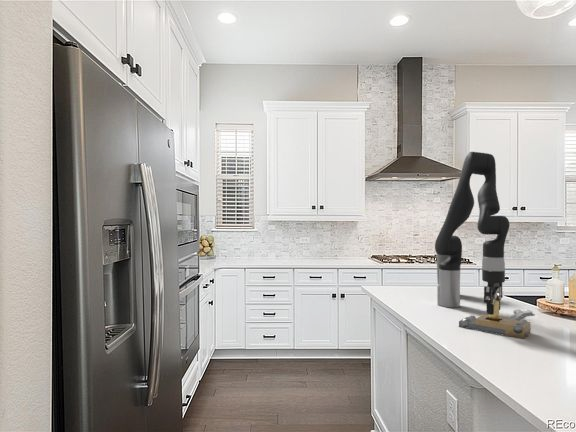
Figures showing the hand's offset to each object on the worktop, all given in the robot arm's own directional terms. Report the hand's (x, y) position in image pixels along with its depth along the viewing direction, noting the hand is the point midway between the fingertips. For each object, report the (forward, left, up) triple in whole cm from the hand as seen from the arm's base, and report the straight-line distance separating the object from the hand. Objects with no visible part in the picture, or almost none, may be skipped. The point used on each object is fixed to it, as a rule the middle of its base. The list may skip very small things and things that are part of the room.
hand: (493, 312), depth 142 cm
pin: (0, 0, -7) cm, 7 cm away
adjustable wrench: (+1, +26, -7) cm, 27 cm away
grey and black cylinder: (-37, +53, -7) cm, 65 cm away
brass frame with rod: (0, 0, -7) cm, 7 cm away
